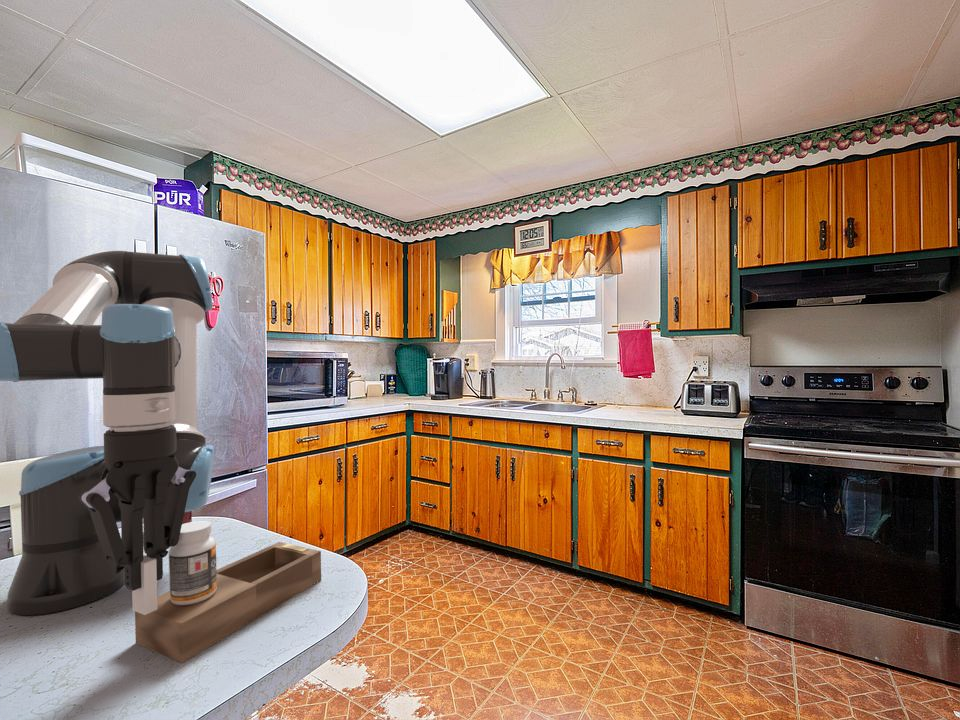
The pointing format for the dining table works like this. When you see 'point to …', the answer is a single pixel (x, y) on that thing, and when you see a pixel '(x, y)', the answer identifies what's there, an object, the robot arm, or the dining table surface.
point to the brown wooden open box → (229, 601)
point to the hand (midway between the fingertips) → (144, 609)
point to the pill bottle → (193, 565)
